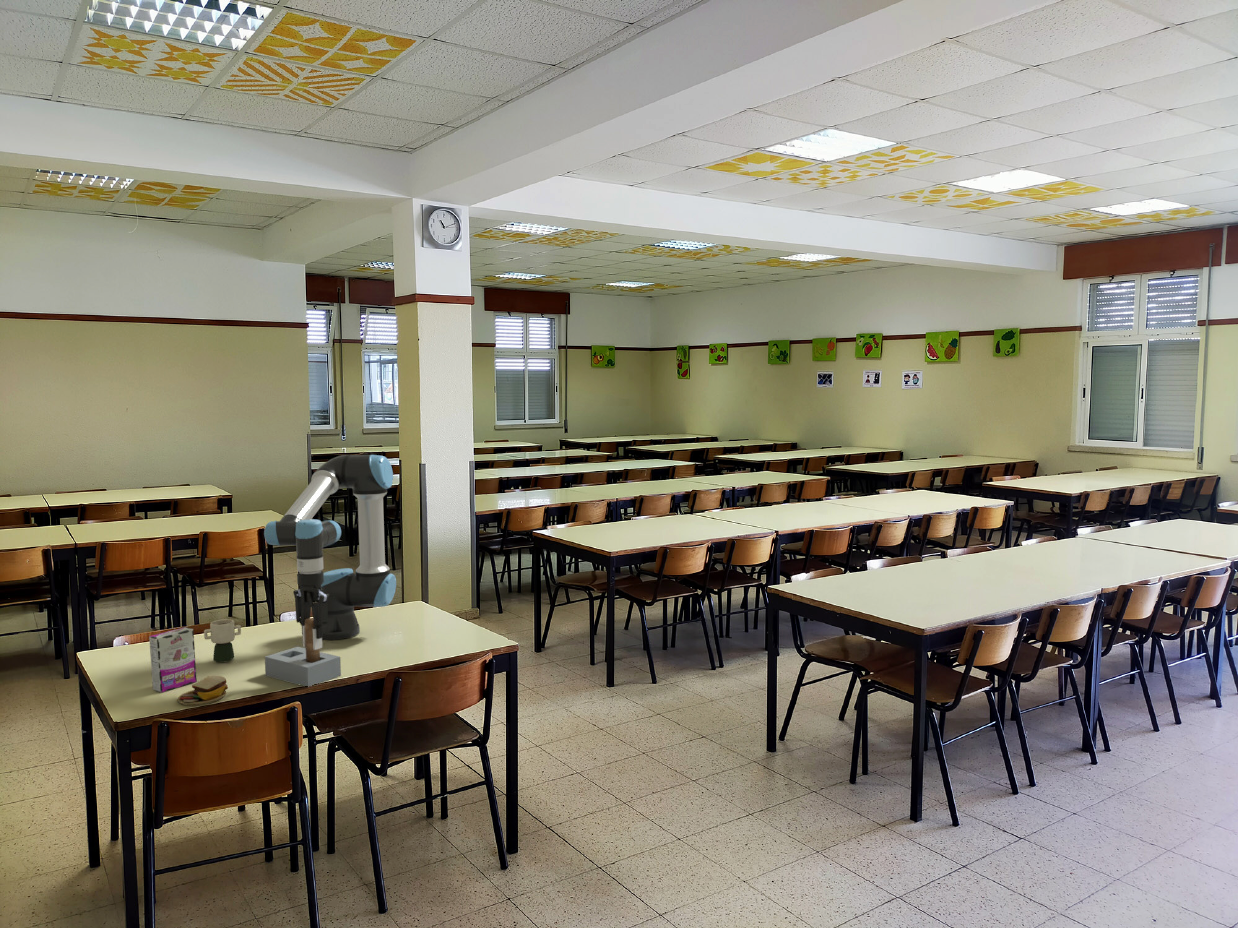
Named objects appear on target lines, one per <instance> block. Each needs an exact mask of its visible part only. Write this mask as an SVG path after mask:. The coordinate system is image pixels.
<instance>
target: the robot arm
mask: <svg viewBox="0 0 1238 928" xmlns="http://www.w3.org/2000/svg"><path fill="white" fill-rule="evenodd" d="M393 481H394V472H393V468H392V464H391V461H389V459H388V458H387V457H386V456H383V455H379V454H378V455H377V454H342V455H338V456H336V457H333V458H331V459H329V460H328V461H326V462H325V463H323V464H322V465H320V466H319V467H318V468H317V469H316V470H315V471H314V472H313V474H312V476H311V480H310V482H309V484H308V485H307V486H306V487H305V488H304V490H303V491H302V493H301V494H300V495H299V496H298V497H297V499H296V500H295V501H294V503H293V504H292V505H291V506H290V508H289V509H288V510H287V511H286V512H285V514H284V515H283V517H281V519H280V520H274V521H269V522H267V524H266V525H265V527H264V531H263V535H264V539H265V542H266V543H267V545H272V546H279V547H281V546H285V547H286V546H293V547H294V546H296V547H295V549H296V550H295V551H296V571H297V574H296V579H297V580H296V581H297V582H296V583H297V585H298V586H299V588H298V589H295V590H293V596H294V602H295V604H294V605H295V619H296V620H295V622H296V623H297V624H298V623H299V624H300V626H301V634H302V635H301V636H302V648H306V642H305V620H306V619H309V618H311V614H312V618H313V620H314V626H315V627H313V650H316V649H320V650H321V649H323V640H327V641H334V640H335V641H336V640H344V639H345V640H346V639H349V638H354V637H355V636H358V635H359V634H360V631H361V628H360V624H359V621H358V619H357V616H356V614H355V610H354V609H355V607H365V608H366V607H369V608H371V607H374V608H380V607H381V608H382V607H383V608H384V607H387V606H388V605H389V606H390V604H391V603H392V601H393V600H394V596H395V594H396V588H397V579H396V575H395V574H393V573H391V572H390V571H391V570H390V567H389V566H388V565H387V564H386V555H385V554H386V552H385V551H386V550H385V549H386V548H385V547H386V546H385V525H384V524H385V521H384V519H385V518H384V497H385V496H386V495H387V493H388V489H390V488H391V487H392V485H393ZM339 489H352V494H353V496H355V498H357V515H358V519H357V520H358V543H359V544H358V545H359V566H358V567H357V568H356V569H355V573H354V570H353V568H349V567H347V568H338V569H332V570H329V571H325V572H324V571H323V570H324V548H326V547H328V546H331V545H334V544H335V543H336V542H338V541H339V540H340V539H341V536H342V529H341V526H340V525H339V523H338V522H336V521H334V520H331V519H330V520H329V519H328V520H322V521H321V520H320V519H313V517H314V516H315V515H316V514H317V513H318V511H319V510H320V508H321V507H322V506H323V505H324V503H325V502H326V501H327V499H328V498H329V497H330V495H333V494H335V493H336V492H337V491H338V490H339Z"/></svg>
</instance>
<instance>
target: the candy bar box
mask: <svg viewBox="0 0 1238 928" xmlns="http://www.w3.org/2000/svg"><path fill="white" fill-rule="evenodd" d="M148 639H149V651H150V652H149V653H150V668H151V684H152V690H153V691H155V692H158V693H161V694H162V693H165V692H169V691H172V690H175V689H178V688H181V687H184V686H188V685H191V684H195V683H197V682H198V681H197V680H198V679H197V666H196V665H197V664H196V651H195V649H196V647H195V634H194V628H189V627H185V626H184V627H181V628H177V629H173V630H168V631H165V632H161V633H157V634H154V635H153V634H152V635H150V636H149V637H148Z"/></svg>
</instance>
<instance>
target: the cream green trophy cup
mask: <svg viewBox="0 0 1238 928" xmlns="http://www.w3.org/2000/svg"><path fill="white" fill-rule="evenodd" d="M209 626H210V628H207V629H204V630H203V637H204V640H206V641H207V640H210V641H211V643H212V644H214V647H213V648H214V649H213V658H212V659H213V662H217V663H227V662H230V661H232V660H234V659H235V652H234V646H233V644H232V642H233V641H234V640H235V637H236V636H239V635H241V634H242V626H241V625H240V624H236V625H235V619H234V620H233V619H229V618H227V619H226V618H224V619H223V618H222V619H217V620H214V621H213V620H212V621H211V622H210V624H209ZM235 629H237V632H235ZM208 633H210V635H209V634H208Z"/></svg>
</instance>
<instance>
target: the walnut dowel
mask: <svg viewBox="0 0 1238 928" xmlns="http://www.w3.org/2000/svg"><path fill="white" fill-rule="evenodd" d="M313 627H315V626H314V620H313V617H310V618H309V619H306V620H305V642H306V647H305V648H306V662H309V663H314V662H317V661H320V652H321V648H320V649H316V650H313Z"/></svg>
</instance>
